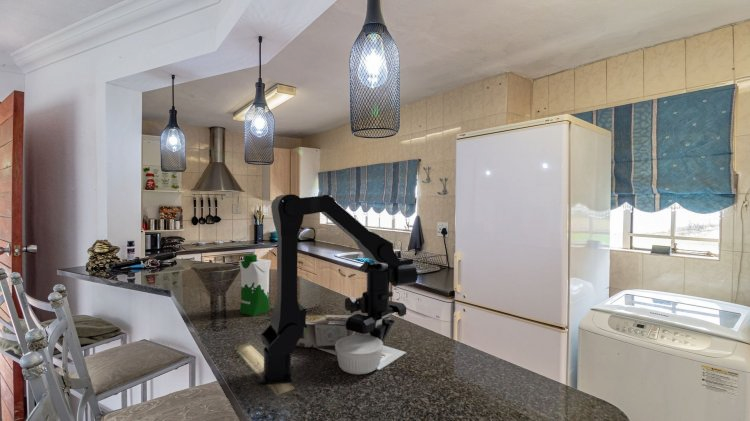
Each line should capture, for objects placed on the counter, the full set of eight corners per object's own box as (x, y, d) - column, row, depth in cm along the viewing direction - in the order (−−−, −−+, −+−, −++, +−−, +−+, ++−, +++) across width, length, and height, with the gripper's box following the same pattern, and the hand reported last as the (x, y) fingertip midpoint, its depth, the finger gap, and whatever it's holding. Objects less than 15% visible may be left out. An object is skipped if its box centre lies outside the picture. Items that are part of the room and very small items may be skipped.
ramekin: (337, 354, 88) (337, 333, 88) (382, 354, 88) (382, 333, 88) (332, 377, 77) (332, 354, 77) (383, 377, 77) (383, 353, 77)
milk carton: (236, 313, 121) (236, 254, 121) (257, 306, 129) (257, 251, 129) (252, 317, 117) (253, 257, 116) (274, 310, 124) (274, 254, 124)
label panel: (406, 352, 91) (406, 351, 91) (379, 370, 81) (379, 369, 81) (341, 333, 103) (341, 332, 103) (311, 346, 94) (311, 345, 94)
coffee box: (289, 347, 93) (348, 351, 90) (288, 322, 93) (347, 325, 90) (303, 335, 102) (357, 338, 99) (303, 313, 102) (357, 315, 99)
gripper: (374, 277, 101) (373, 331, 102) (328, 290, 86) (328, 354, 87) (407, 283, 95) (407, 340, 95) (365, 298, 80) (364, 366, 80)
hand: (377, 349), depth 89 cm, fingers closed
